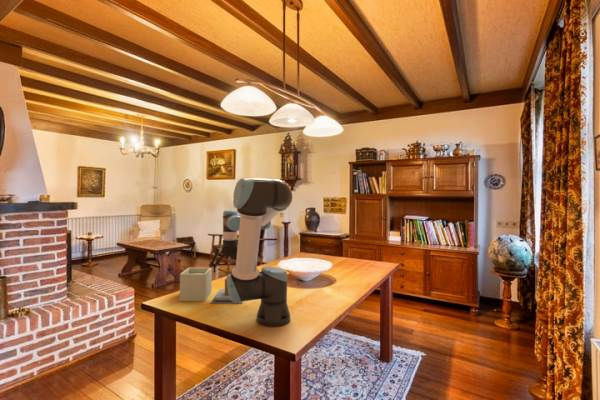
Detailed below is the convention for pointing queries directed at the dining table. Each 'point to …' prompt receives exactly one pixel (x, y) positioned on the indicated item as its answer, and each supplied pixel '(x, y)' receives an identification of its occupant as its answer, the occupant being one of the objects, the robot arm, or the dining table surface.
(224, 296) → the lid
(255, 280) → the robot arm
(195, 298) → the box
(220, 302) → the mat
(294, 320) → the dining table surface
